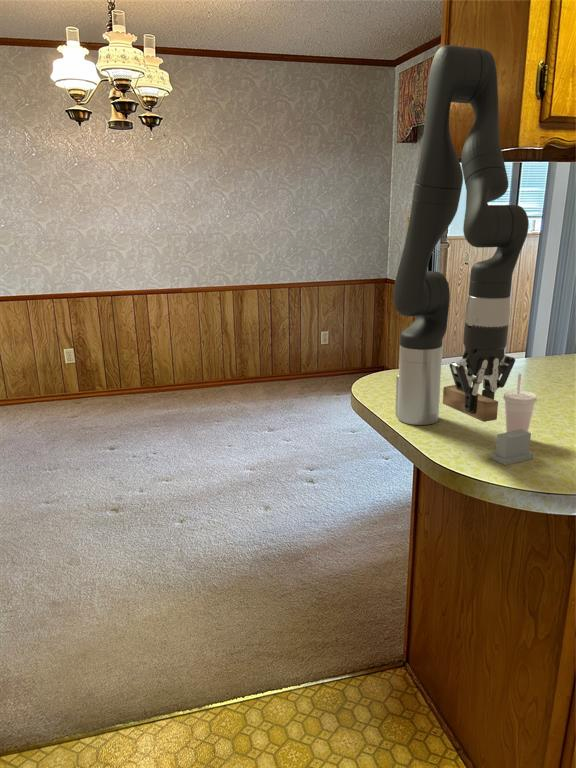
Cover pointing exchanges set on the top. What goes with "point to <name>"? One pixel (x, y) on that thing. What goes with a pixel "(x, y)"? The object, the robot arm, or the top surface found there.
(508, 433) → the block
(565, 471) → the top surface
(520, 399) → the smoothie
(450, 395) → the walnut bar
